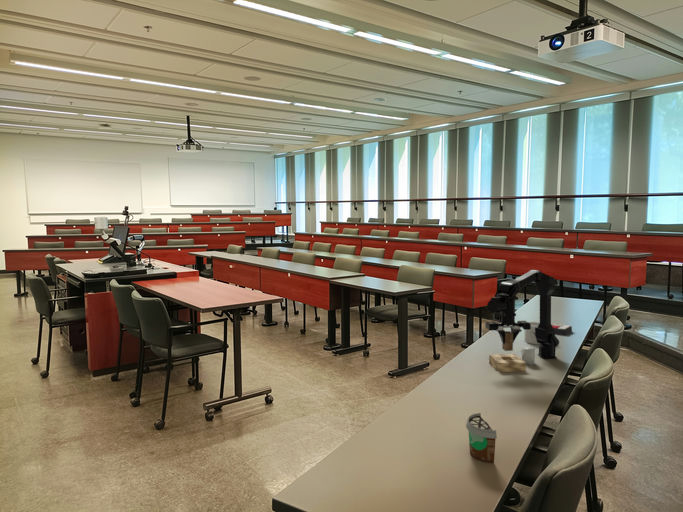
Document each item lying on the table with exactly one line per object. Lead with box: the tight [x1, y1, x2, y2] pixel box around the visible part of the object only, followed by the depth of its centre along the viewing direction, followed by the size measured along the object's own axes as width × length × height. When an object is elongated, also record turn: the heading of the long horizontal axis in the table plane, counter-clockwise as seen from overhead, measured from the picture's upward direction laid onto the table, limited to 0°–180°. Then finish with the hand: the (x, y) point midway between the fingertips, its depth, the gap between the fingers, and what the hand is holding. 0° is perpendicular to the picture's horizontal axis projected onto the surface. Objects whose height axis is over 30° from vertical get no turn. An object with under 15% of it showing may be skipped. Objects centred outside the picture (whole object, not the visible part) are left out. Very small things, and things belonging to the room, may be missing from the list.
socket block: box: [488, 353, 527, 373], centre depth 209 cm, size 12×12×4 cm
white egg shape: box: [521, 346, 536, 366], centre depth 214 cm, size 6×6×7 cm
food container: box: [465, 412, 498, 464], centre depth 134 cm, size 12×6×10 cm, turn 5°
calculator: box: [551, 322, 573, 336], centre depth 269 cm, size 11×4×15 cm
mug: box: [523, 321, 540, 345], centre depth 247 cm, size 14×11×10 cm
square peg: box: [501, 330, 514, 352], centre depth 208 cm, size 3×3×8 cm
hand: (507, 344), depth 208 cm, fingers closed on square peg, 3 cm apart
